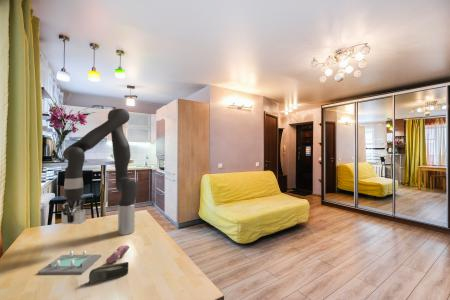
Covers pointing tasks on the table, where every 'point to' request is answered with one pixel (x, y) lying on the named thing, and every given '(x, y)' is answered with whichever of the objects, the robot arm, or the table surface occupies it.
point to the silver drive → (75, 217)
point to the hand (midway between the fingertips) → (73, 220)
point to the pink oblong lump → (118, 254)
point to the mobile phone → (108, 272)
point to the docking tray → (70, 264)
